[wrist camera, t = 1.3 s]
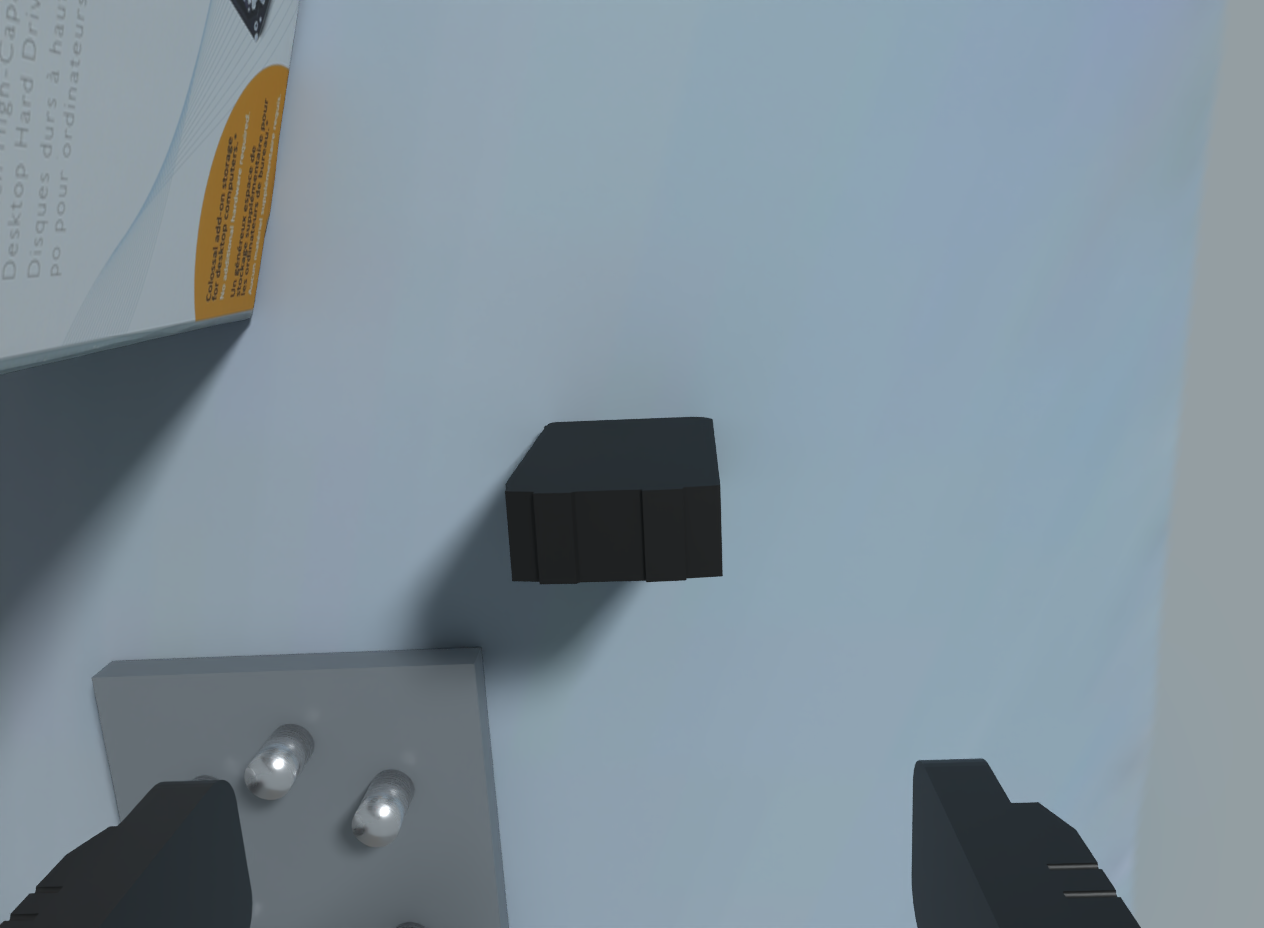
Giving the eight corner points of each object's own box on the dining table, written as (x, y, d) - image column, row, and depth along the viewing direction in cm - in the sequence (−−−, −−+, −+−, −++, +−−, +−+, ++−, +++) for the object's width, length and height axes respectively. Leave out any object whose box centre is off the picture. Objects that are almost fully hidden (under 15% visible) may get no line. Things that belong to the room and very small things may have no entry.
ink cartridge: (551, 494, 31) (505, 590, 23) (546, 421, 30) (498, 493, 22) (714, 490, 30) (723, 585, 22) (712, 416, 30) (720, 488, 22)
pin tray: (182, 1023, 36) (136, 1100, 33) (112, 661, 32) (53, 708, 29) (517, 1016, 35) (503, 1094, 32) (481, 647, 32) (461, 694, 29)
